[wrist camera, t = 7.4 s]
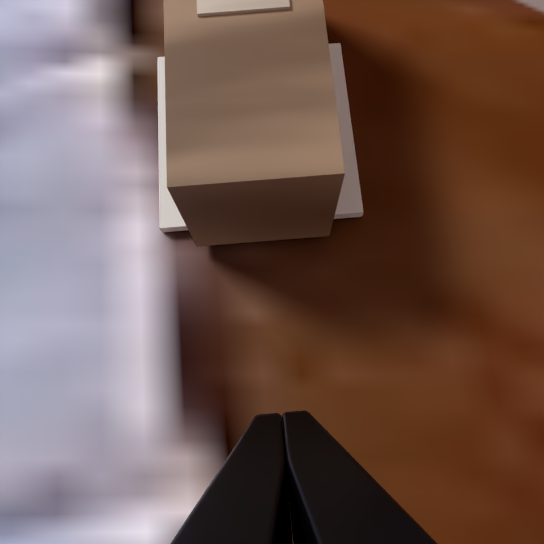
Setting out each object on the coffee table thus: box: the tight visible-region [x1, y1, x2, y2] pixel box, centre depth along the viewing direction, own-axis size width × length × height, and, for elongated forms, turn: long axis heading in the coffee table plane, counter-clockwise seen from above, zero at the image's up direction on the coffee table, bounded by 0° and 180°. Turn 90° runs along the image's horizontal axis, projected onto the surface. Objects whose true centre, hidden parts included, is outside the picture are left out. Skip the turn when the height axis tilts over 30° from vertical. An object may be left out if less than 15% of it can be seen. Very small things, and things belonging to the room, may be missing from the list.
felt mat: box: [158, 43, 363, 232], centre depth 18 cm, size 7×7×1 cm
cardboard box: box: [164, 0, 345, 246], centre depth 16 cm, size 5×4×10 cm
